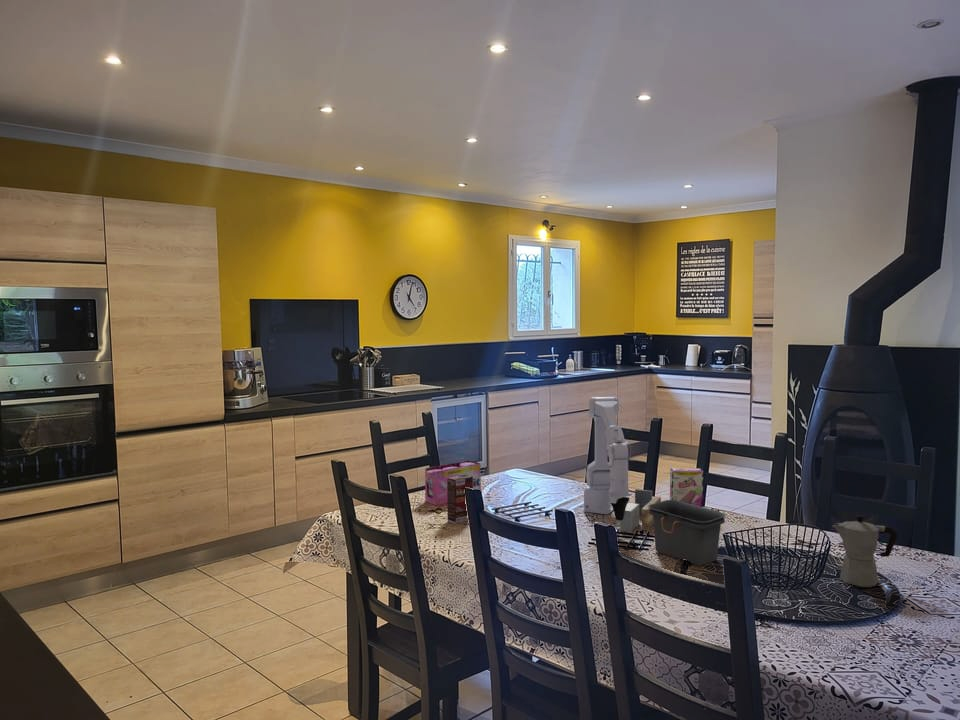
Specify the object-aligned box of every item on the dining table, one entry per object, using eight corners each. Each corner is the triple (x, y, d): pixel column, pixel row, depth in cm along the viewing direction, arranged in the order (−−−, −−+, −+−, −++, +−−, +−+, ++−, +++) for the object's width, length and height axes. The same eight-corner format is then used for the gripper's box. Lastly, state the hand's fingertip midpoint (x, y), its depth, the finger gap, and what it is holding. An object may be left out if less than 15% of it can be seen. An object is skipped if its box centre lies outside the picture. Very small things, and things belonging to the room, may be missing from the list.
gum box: (433, 506, 266) (432, 472, 265) (421, 502, 272) (421, 468, 271) (481, 495, 281) (481, 462, 280) (469, 492, 287) (469, 460, 286)
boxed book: (619, 530, 233) (619, 509, 233) (628, 522, 242) (628, 502, 241) (631, 531, 231) (631, 511, 231) (639, 523, 240) (639, 503, 239)
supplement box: (455, 524, 242) (454, 480, 241) (447, 521, 245) (446, 477, 244) (474, 519, 247) (473, 476, 246) (465, 517, 251) (464, 474, 250)
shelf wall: (641, 529, 233) (641, 508, 233) (655, 515, 249) (655, 496, 249) (647, 530, 232) (647, 509, 232) (660, 516, 248) (660, 496, 248)
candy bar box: (671, 515, 249) (671, 470, 248) (669, 511, 254) (669, 467, 253) (703, 515, 248) (703, 470, 247) (700, 511, 253) (700, 467, 252)
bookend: (635, 514, 251) (635, 489, 251) (637, 511, 254) (637, 487, 253) (651, 516, 248) (651, 491, 248) (653, 513, 251) (653, 489, 251)
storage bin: (730, 561, 202) (731, 513, 201) (698, 573, 193) (698, 523, 192) (671, 542, 219) (671, 498, 218) (639, 553, 210) (638, 507, 209)
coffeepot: (833, 584, 184) (834, 517, 183) (829, 571, 193) (831, 508, 192) (900, 591, 178) (901, 523, 177) (893, 578, 187) (894, 513, 186)
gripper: (624, 485, 218) (624, 527, 219) (637, 475, 231) (637, 515, 232) (603, 482, 222) (603, 524, 223) (616, 473, 235) (617, 513, 235)
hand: (619, 519), depth 227 cm, fingers closed
